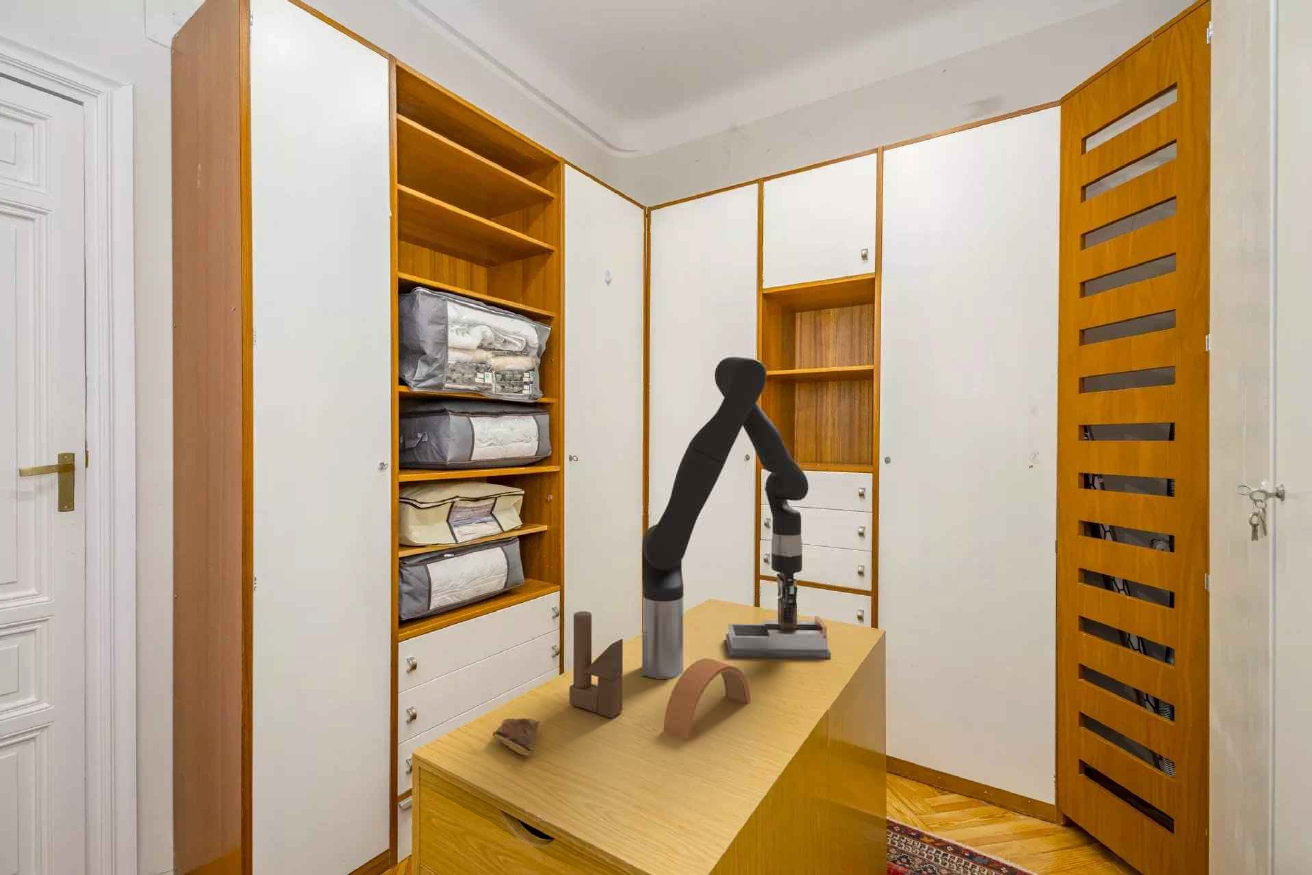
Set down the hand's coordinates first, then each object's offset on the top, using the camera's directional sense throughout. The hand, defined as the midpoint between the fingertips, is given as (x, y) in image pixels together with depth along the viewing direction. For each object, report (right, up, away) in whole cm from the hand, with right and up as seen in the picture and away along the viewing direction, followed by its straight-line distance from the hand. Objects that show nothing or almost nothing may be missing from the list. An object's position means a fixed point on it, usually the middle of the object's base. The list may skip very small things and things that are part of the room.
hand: (786, 619), depth 145 cm
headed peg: (0, -5, 0) cm, 5 cm away
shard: (-52, -9, -46) cm, 70 cm away
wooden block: (-45, -8, -31) cm, 55 cm away
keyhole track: (-3, -7, 0) cm, 8 cm away
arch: (-23, -8, -34) cm, 42 cm away
